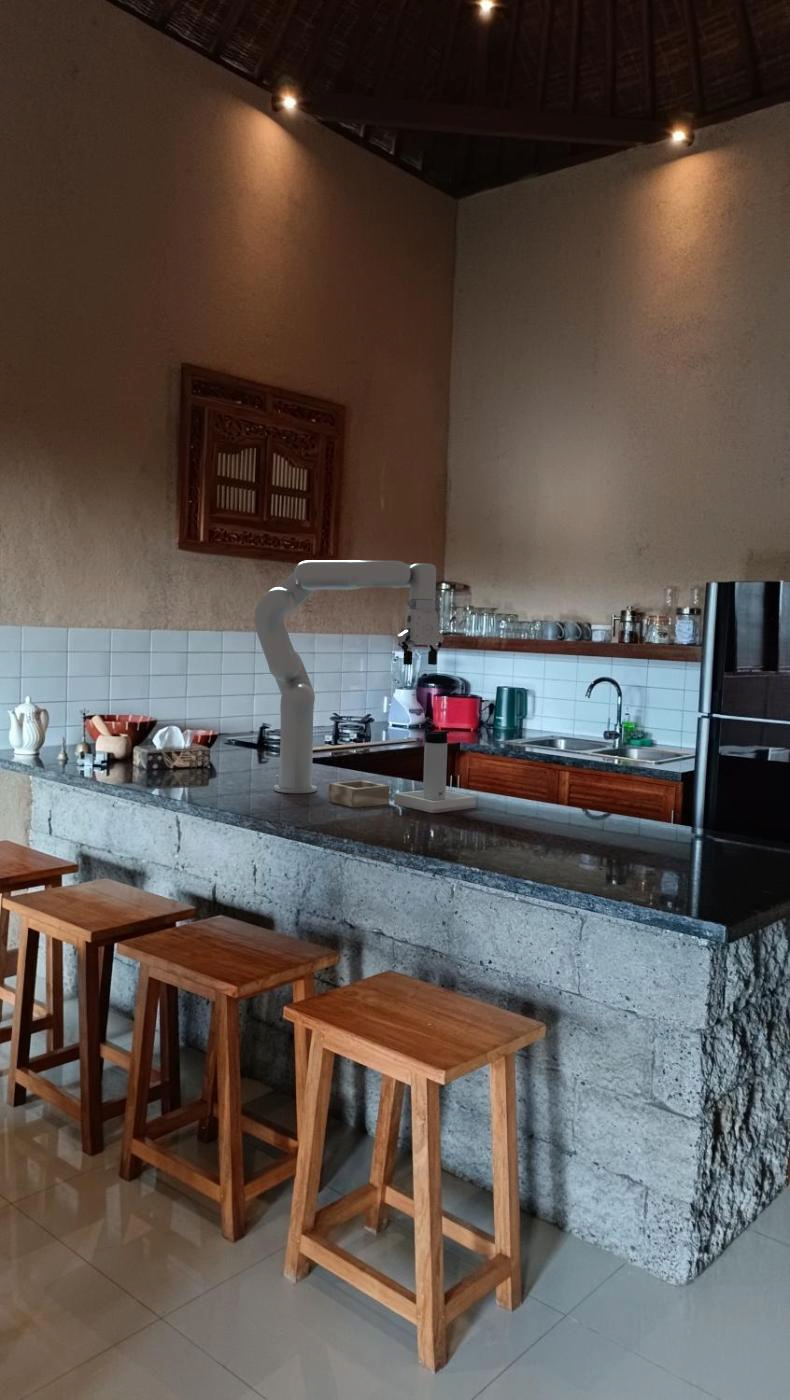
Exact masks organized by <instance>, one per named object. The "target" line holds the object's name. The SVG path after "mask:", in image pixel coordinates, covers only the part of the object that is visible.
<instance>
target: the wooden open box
mask: <svg viewBox="0 0 790 1400" xmlns="http://www.w3.org/2000/svg"><path fill="white" fill-rule="evenodd" d="M328 802H330V803H335V804H339V805H343V806H347V807H352V808H354V807H357V808H362V807H363V806H365V807H371V806H372V807H373V806H380V805H381V806H382V805H389V804H390V785H387V784H384V783H383V784H382V783H377V782H373V781H368V780H363V779H359V780H349V781H338V782H337V781H336V782H328ZM363 808H364V807H363Z"/></svg>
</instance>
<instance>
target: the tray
mask: <svg viewBox="0 0 790 1400" xmlns="http://www.w3.org/2000/svg"><path fill="white" fill-rule="evenodd" d="M476 799H477V797H476V796H473V795H468V794H464V793H463V794H462V793H459V792H454V791H449V790H446V796H445V800H438V801H431V800H427V799H423V789H422V790H414V791H412V790H411V791H402V792H395V793H394V796H393V805H397V806H401V807H405V808H408V809H413V810H416V811H417V810H418V811H423V812H427V813H431V814H436V813H437V814H439V813H444V812H454V811H462V810H469V809H475V808H476V801H477V800H476Z"/></svg>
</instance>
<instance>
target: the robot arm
mask: <svg viewBox="0 0 790 1400" xmlns="http://www.w3.org/2000/svg"><path fill="white" fill-rule="evenodd" d="M436 581H437V568H436V565H435V564H432V563H421V562H420V563H419V562H418V563H413V564H407V563H406V562H403V561H400V560H355V559H354V560H353V559H352V560H351V559H349V560H348V559H347V560H337V559H336V560H334V559H333V560H330V559H329V560H317V559H316V560H313V559H312V560H303V561H301V562H299V563H298V564H297V565H296V566H295V568H294V571H293V572H292V573H291V574H290V575H289V576H288V577H287V578H286V579H285V580H284V581H283V582H282V583H281V584H280V585H278V586H276V587H272V588H271V589H269V590H268V591H267V592H266V593H264V595H263V596H262V597H261V598H260V599H259V602H258V604H257V605H256V608H255V612H254V627H255V632H256V634H257V637H258V640H259V643H260V646H261V649H262V652H263V655H264V657H265V659H266V662H267V666H268V669H269V672H270V674H271V675H272V676H273V678H274V679H275V681H276V684H277V686H278V689H279V692H280V695H281V698H280V706H279V707H280V708H279V709H280V735H279V738H280V742H279V744H280V745H279V746H280V747H279V750H280V751H279V773H278V774H277V775H275V777H274V779H275V780H276V781H278V782H277V783H278V784H275V785H274V786H273V790H274V792H278V793H284V794H310V793H315V792H317V790H318V787H317V786H316V785H314V784H312V783H313V782H312V781H313V753H314V752H313V750H314V749H313V748H314V745H313V743H314V709H315V700H316V695H315V692H314V689H313V686H312V683H311V681H310V678H309V676H308V673H307V671H306V667H305V665H304V662H303V660H302V658H301V656H300V654H299V653H298V652H297V651H295V649H294V646H293V643H292V640H291V639H290V636H289V633H288V630H287V628H286V625H285V617H287V616H289V615H291V614H292V613H294V611H295V610H297V608H298V607H300V605H302V604H303V603H304V602H305V601H306V600H307V599H308V598H310V596H312V594H314V592H315V591H317V590H318V591H319V590H322V591H324V590H325V591H328V590H329V591H331V590H337V591H339V590H340V591H341V590H342V591H345V590H346V591H348V590H349V591H350V590H351V591H352V590H358V589H363V588H393V589H402V588H409V601H407V607H409V609H408V610H407V613H406V618H405V624H404V625H405V626H404V631H402V632H401V633H400V634H398V635H397V636H396V637H397V638H396V639H397V640H398V643H399V646H400V648H401V650H402V651H403V662H402V663H403V665H404V666H406V665H407V666H411V665H413V650H412V649H413V648H414V646H415V645H419V646H423V645H424V646H427V647H428V649H429V650H428V654H427V664H428V665H433V666H437V664H438V663H437V662H438V652H439V651H440V648H441V647H442V643H443V641H444V639H445V637H444V636H443V635H442V634H441V633H440V626H439V624H440V623H439V616H438V611H435V610H436V587H437V586H436V585H437V583H436Z"/></svg>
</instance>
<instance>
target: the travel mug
mask: <svg viewBox="0 0 790 1400" xmlns="http://www.w3.org/2000/svg"><path fill="white" fill-rule="evenodd" d="M449 734H450V731H449V730H438V731H437V730H436V731H429V732H426V733H425V735H424V736H425V737H424V738H425V739H424V750H423V751H424V752H423V753H424V755H423V758H424V759H423V781H422V783H423V784H422V785H423V787H422V788H423V789H422V790H423V799H427V800H431V801H438V800H445V796H446V791H447V765H448V763H447V762H448V760H447V759H448V735H449Z"/></svg>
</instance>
